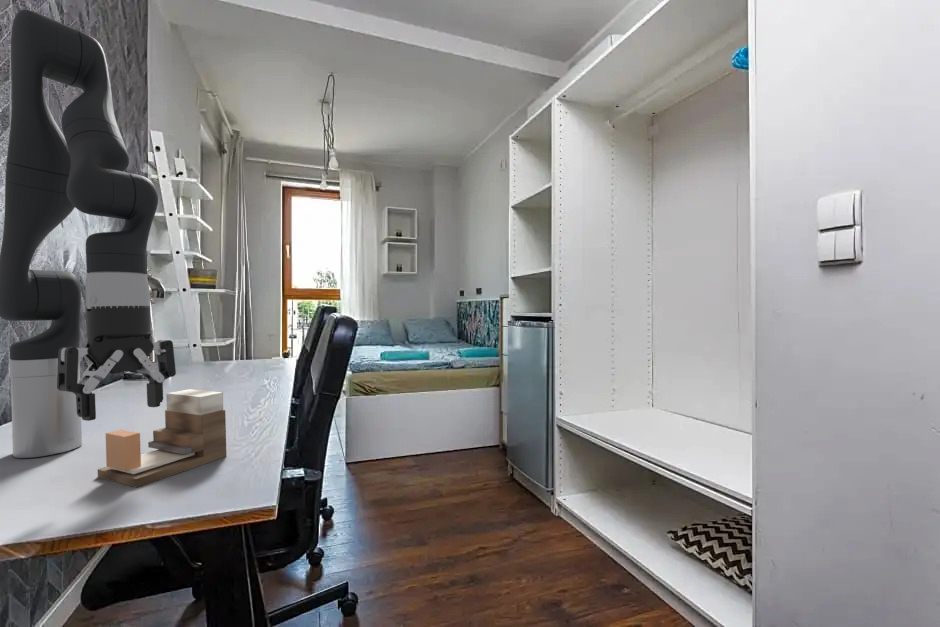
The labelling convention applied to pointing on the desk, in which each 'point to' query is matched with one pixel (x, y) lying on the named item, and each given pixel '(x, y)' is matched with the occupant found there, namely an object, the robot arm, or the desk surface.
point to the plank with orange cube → (134, 453)
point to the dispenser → (183, 436)
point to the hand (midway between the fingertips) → (123, 412)
